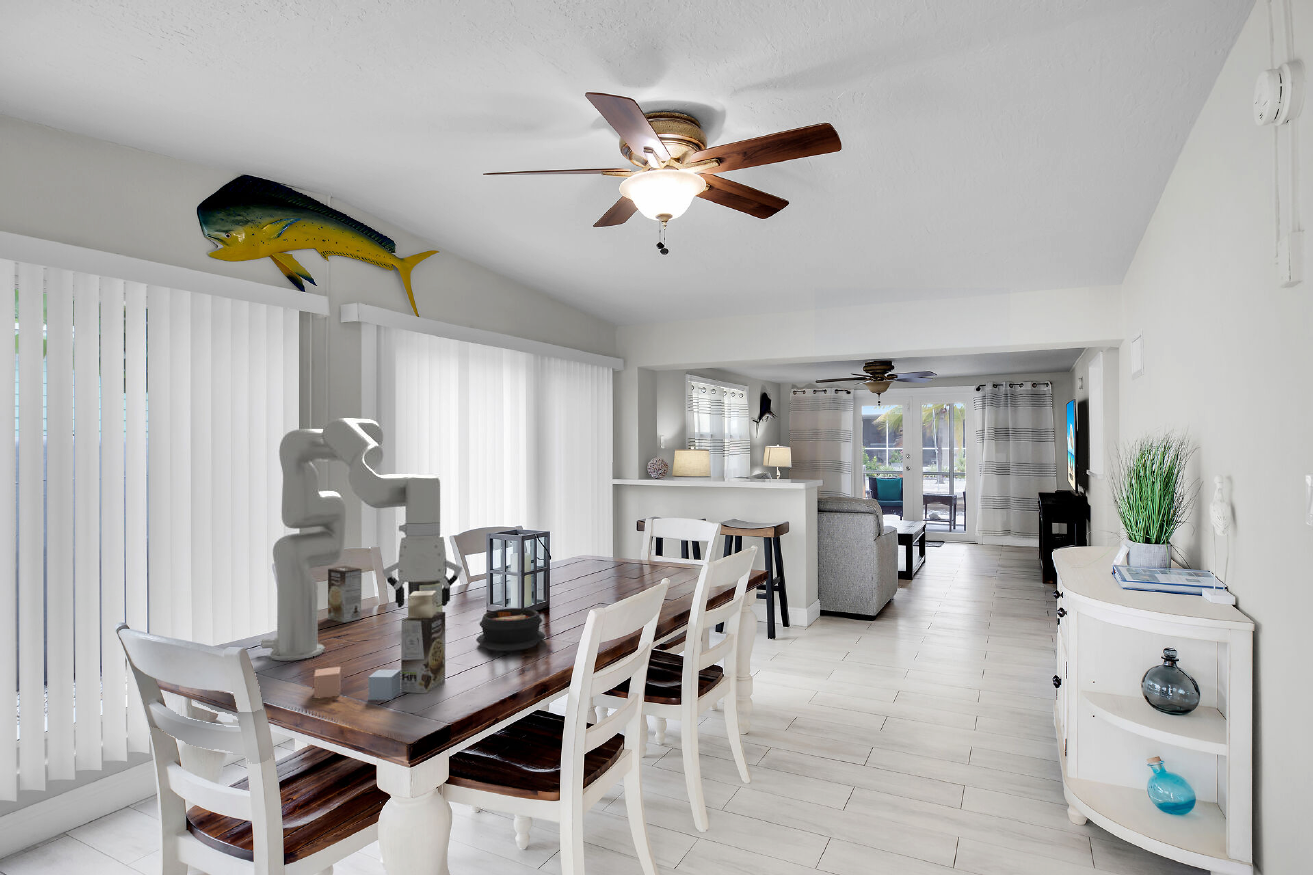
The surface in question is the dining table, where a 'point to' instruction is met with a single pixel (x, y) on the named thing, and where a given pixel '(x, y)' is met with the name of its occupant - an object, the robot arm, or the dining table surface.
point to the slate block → (384, 684)
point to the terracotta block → (327, 682)
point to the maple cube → (422, 604)
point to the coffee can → (427, 587)
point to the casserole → (510, 629)
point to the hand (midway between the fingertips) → (423, 605)
